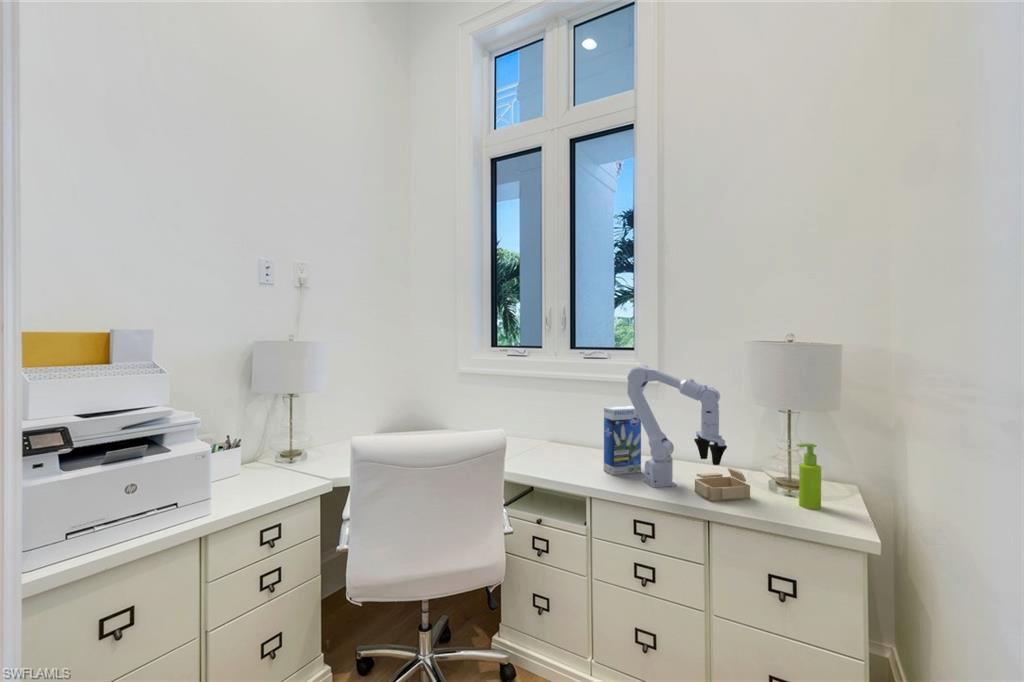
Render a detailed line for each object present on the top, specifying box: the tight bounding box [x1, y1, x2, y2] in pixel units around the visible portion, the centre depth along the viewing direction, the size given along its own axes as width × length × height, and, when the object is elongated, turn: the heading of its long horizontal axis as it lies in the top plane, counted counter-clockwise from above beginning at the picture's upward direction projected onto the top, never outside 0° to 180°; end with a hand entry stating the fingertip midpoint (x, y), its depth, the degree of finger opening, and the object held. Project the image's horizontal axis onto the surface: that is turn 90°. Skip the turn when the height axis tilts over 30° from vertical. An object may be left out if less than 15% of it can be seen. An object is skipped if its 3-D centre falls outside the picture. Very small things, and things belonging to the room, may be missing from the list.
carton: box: [694, 475, 751, 503], centre depth 156 cm, size 15×11×5 cm
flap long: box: [696, 472, 724, 479], centre depth 164 cm, size 8×1×4 cm
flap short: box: [727, 466, 747, 483], centre depth 158 cm, size 1×7×4 cm, turn 11°
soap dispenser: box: [796, 442, 822, 511], centre depth 147 cm, size 6×7×20 cm
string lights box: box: [603, 405, 642, 476], centre depth 185 cm, size 13×8×26 cm, turn 109°
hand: (709, 461), depth 161 cm, fingers open, 7 cm apart
